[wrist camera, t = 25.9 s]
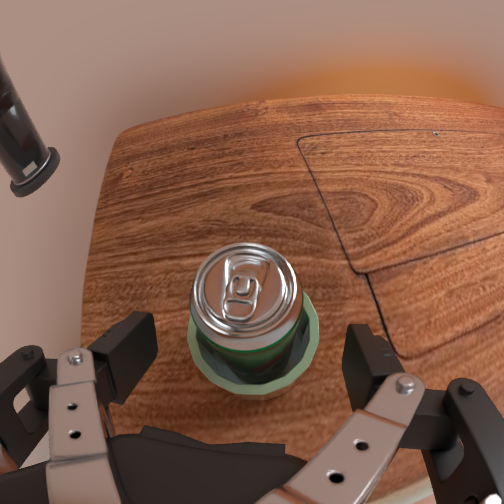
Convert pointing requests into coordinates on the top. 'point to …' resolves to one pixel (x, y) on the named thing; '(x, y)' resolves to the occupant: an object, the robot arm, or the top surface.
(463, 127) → the top surface
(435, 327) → the top surface
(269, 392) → the can holder
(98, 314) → the top surface
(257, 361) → the soda can
